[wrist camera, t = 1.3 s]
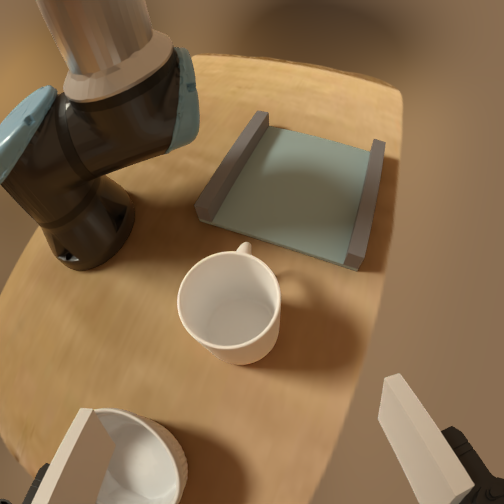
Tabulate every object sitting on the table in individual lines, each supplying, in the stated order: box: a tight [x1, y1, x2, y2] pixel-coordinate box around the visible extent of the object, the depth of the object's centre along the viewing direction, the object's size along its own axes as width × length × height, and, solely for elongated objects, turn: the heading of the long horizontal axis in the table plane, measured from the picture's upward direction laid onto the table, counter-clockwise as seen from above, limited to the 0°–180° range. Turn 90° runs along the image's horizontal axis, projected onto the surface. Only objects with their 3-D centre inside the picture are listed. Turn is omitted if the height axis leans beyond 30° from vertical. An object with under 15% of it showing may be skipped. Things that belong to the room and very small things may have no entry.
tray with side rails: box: [194, 111, 386, 271], centre depth 42 cm, size 22×22×4 cm
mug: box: [177, 242, 281, 365], centre depth 30 cm, size 9×12×11 cm
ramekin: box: [94, 408, 188, 504], centre depth 23 cm, size 13×13×7 cm
